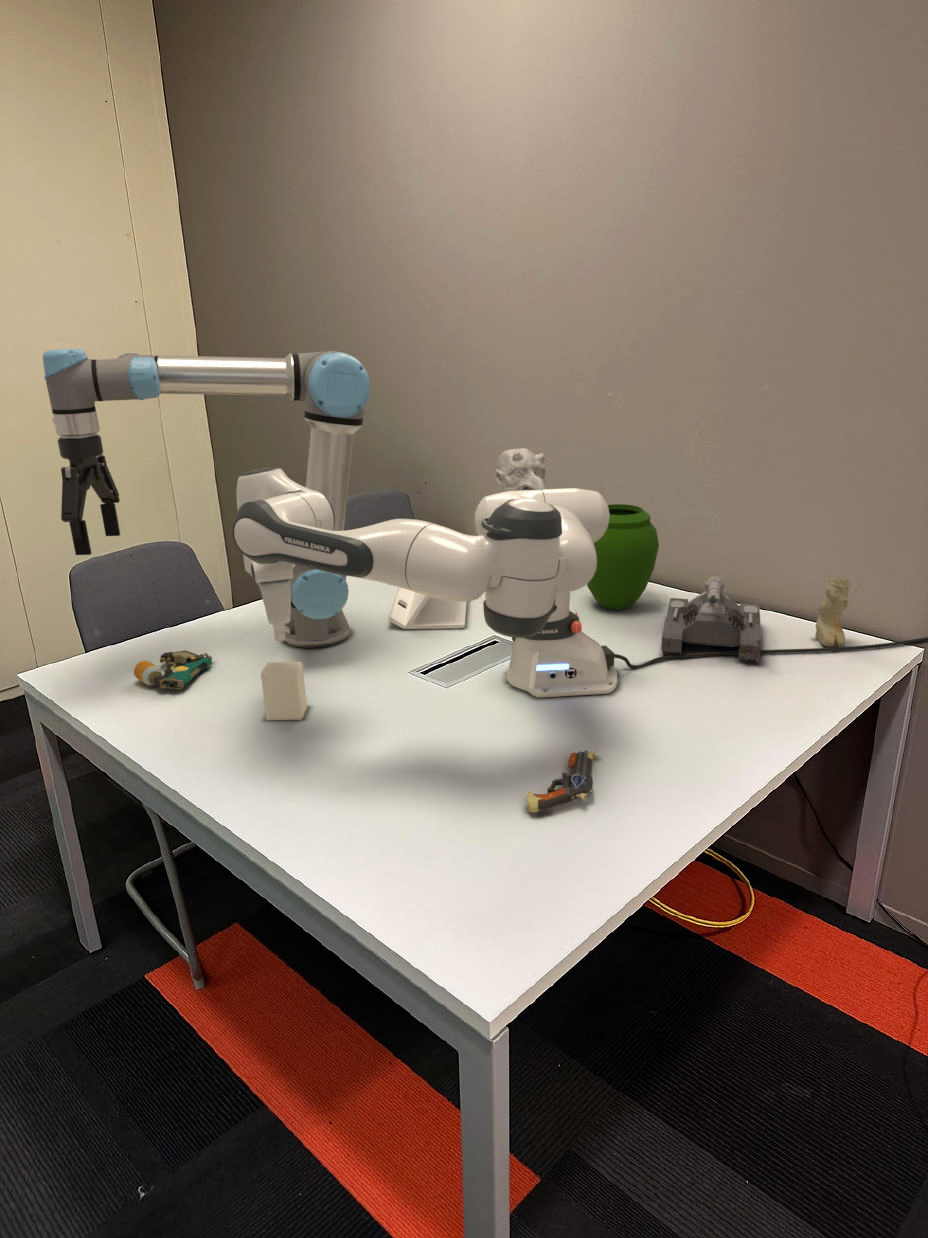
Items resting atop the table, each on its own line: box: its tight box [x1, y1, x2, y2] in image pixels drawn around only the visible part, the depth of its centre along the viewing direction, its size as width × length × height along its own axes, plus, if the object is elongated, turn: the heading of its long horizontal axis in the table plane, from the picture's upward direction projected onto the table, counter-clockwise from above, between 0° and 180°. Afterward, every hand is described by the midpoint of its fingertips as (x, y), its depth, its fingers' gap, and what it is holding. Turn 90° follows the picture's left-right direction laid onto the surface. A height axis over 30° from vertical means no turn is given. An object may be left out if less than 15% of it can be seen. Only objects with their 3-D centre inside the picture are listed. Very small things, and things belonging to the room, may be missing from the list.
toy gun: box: [526, 749, 597, 813], centre depth 136 cm, size 3×19×10 cm
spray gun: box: [133, 650, 213, 690], centre depth 180 cm, size 4×17×15 cm
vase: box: [586, 503, 660, 610], centre depth 210 cm, size 20×20×24 cm
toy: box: [660, 575, 762, 662], centre depth 188 cm, size 25×20×15 cm
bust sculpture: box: [494, 447, 547, 492], centre depth 231 cm, size 16×24×35 cm
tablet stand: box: [388, 587, 468, 630], centre depth 211 cm, size 18×25×17 cm
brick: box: [260, 661, 308, 721], centre depth 161 cm, size 5×7×10 cm
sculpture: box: [814, 576, 852, 648], centre depth 185 cm, size 6×7×15 cm
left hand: (99, 544), depth 168 cm, fingers open, 13 cm apart
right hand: (277, 630), depth 157 cm, fingers open, 8 cm apart
